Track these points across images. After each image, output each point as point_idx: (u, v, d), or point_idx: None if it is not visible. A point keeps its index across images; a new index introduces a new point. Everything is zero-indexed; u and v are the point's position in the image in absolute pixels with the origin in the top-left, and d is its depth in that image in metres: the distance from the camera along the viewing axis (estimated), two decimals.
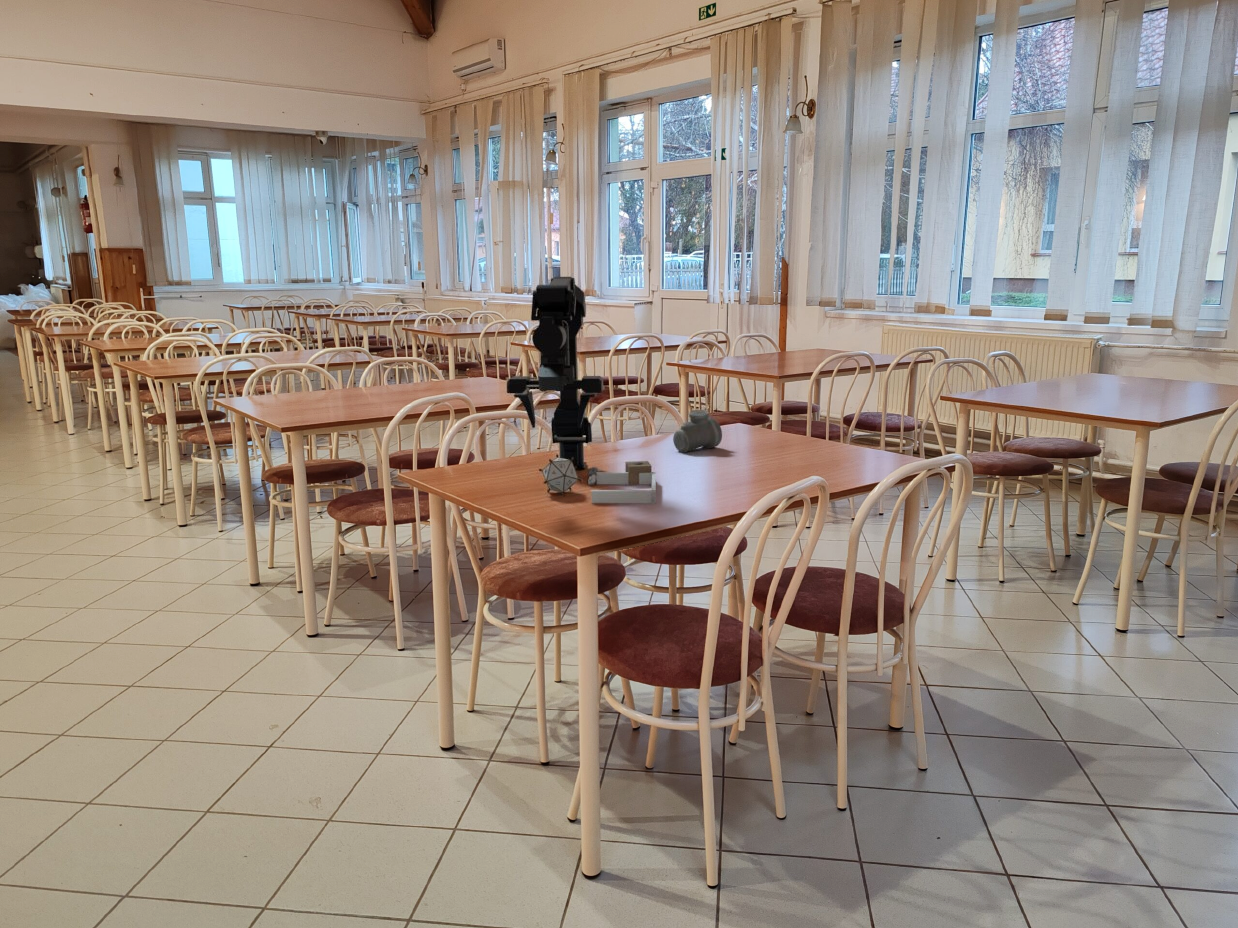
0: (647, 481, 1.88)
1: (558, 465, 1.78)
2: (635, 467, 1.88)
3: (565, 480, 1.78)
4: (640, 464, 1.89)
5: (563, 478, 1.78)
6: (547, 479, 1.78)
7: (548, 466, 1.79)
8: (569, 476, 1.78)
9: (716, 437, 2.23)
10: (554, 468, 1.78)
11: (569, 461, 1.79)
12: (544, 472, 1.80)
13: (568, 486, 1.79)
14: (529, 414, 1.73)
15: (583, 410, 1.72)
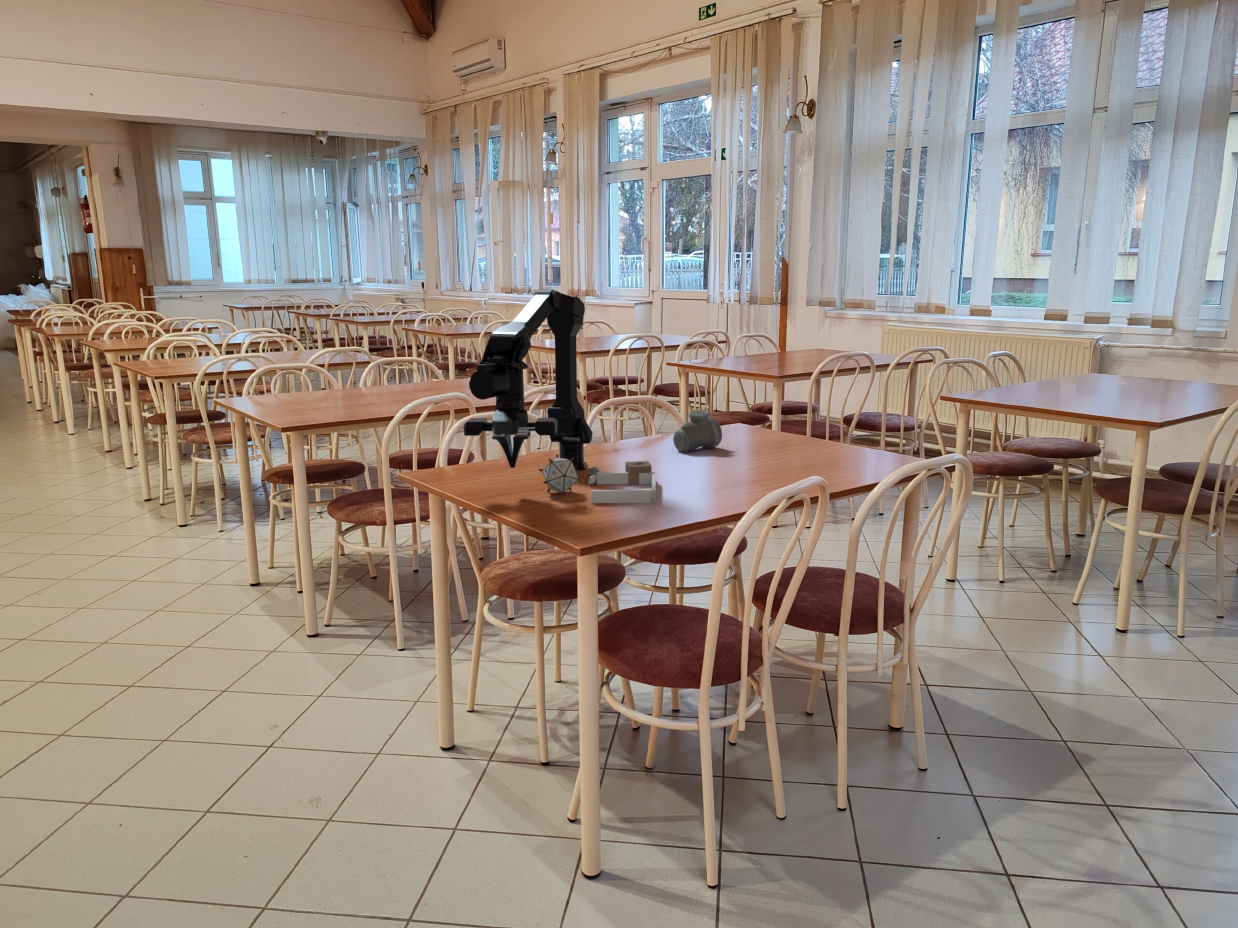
0: (647, 481, 1.88)
1: (558, 465, 1.78)
2: (635, 467, 1.88)
3: (565, 480, 1.78)
4: (640, 464, 1.89)
5: (563, 478, 1.78)
6: (547, 479, 1.78)
7: (548, 466, 1.79)
8: (569, 477, 1.78)
9: (716, 437, 2.23)
10: (554, 468, 1.78)
11: (569, 461, 1.79)
12: (544, 472, 1.80)
13: (568, 486, 1.79)
14: (507, 455, 1.80)
15: (516, 451, 1.79)
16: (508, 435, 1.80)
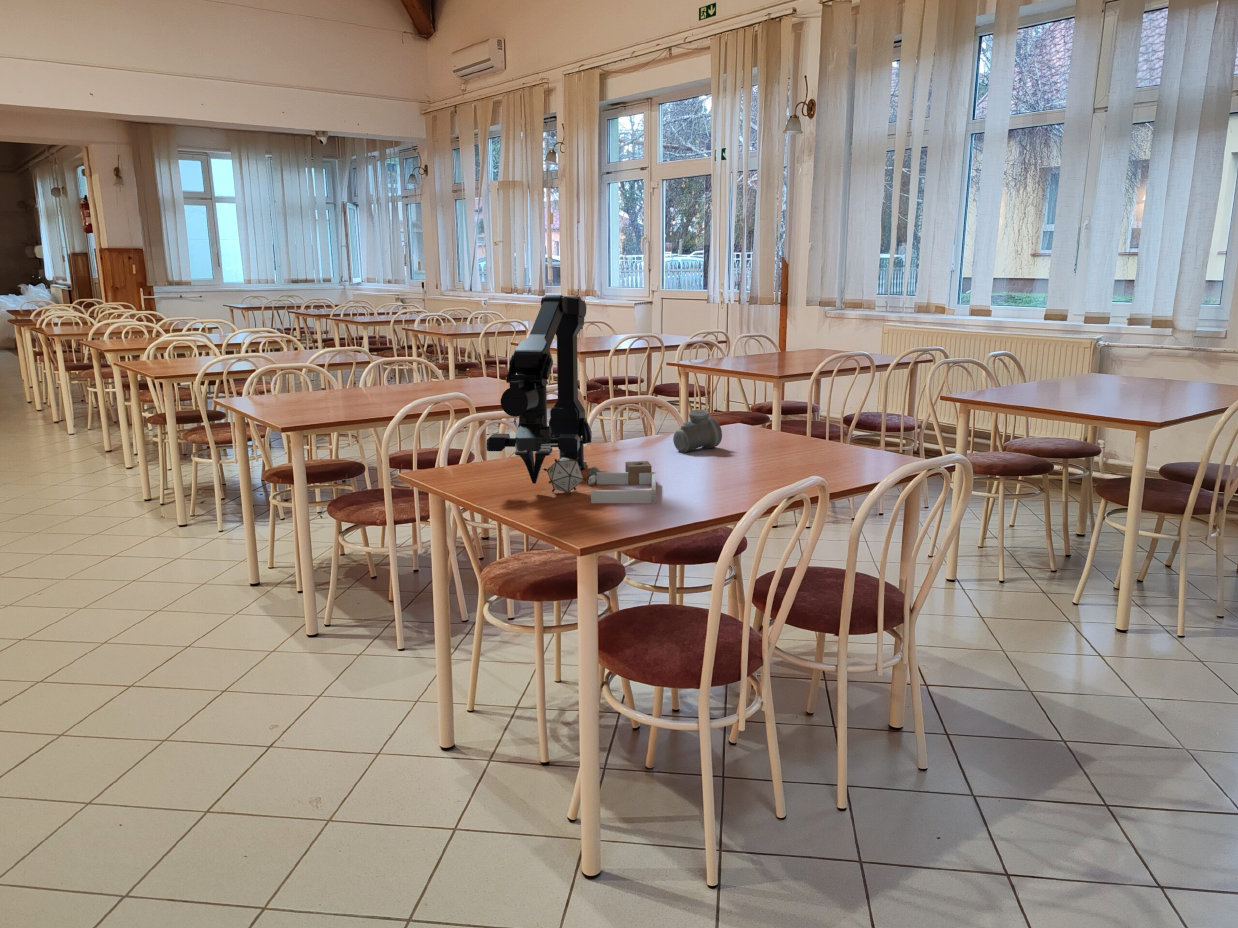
0: (647, 481, 1.88)
1: (563, 465, 1.78)
2: (635, 467, 1.88)
3: (571, 479, 1.78)
4: (640, 464, 1.89)
5: (568, 478, 1.77)
6: (552, 479, 1.78)
7: (553, 466, 1.79)
8: (575, 476, 1.78)
9: (716, 437, 2.23)
10: (559, 468, 1.78)
11: (574, 461, 1.79)
12: (549, 472, 1.80)
13: (573, 486, 1.79)
14: (529, 471, 1.80)
15: (538, 467, 1.80)
16: (531, 451, 1.81)
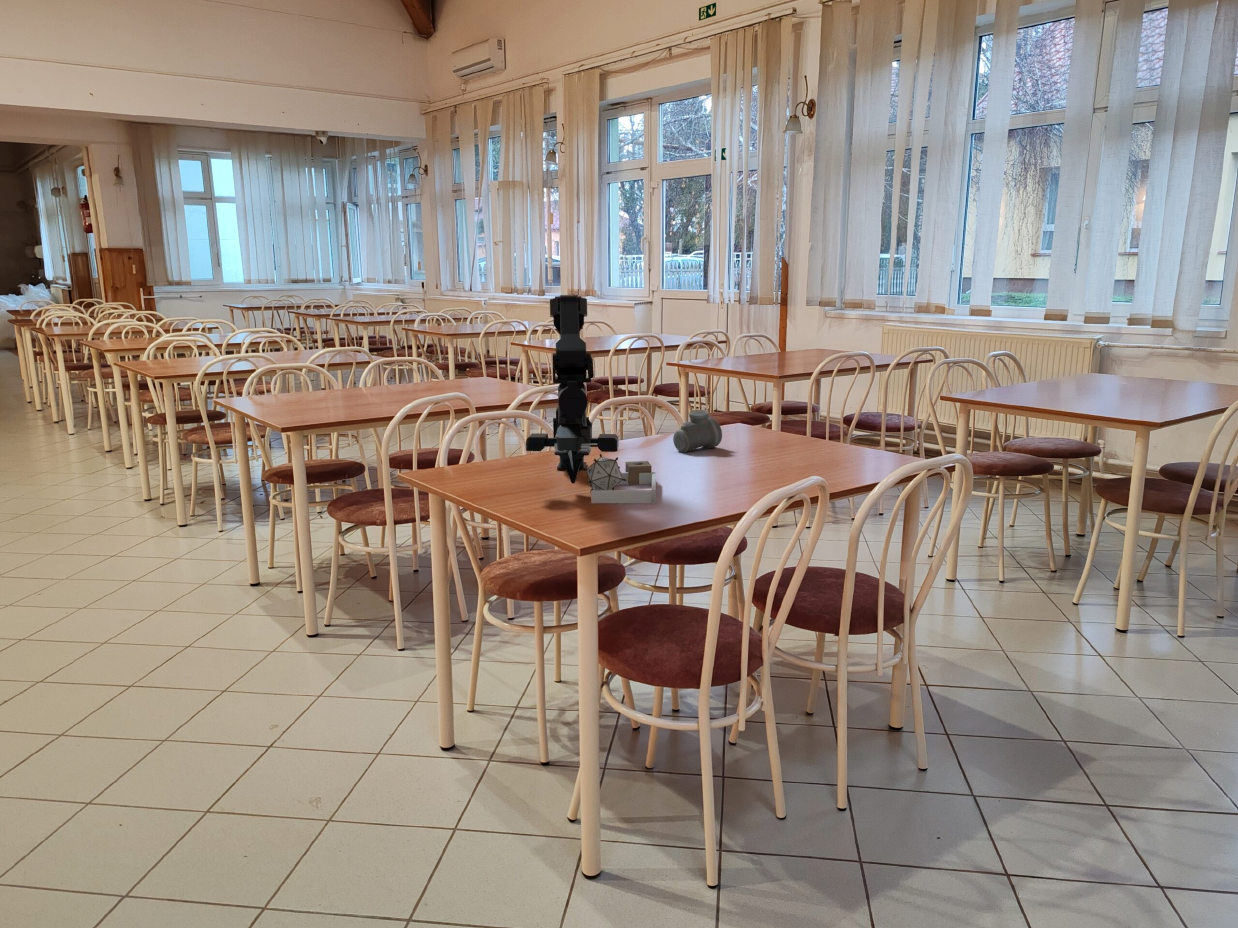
0: (647, 481, 1.88)
1: (603, 465, 1.78)
2: (635, 467, 1.88)
3: (610, 480, 1.77)
4: (640, 464, 1.89)
5: (608, 478, 1.77)
6: (592, 479, 1.78)
7: (592, 466, 1.79)
8: (614, 476, 1.78)
9: (716, 437, 2.23)
10: (598, 468, 1.78)
11: (613, 461, 1.79)
12: (588, 472, 1.80)
13: (612, 486, 1.79)
14: (568, 470, 1.80)
15: (577, 467, 1.79)
16: (569, 451, 1.80)
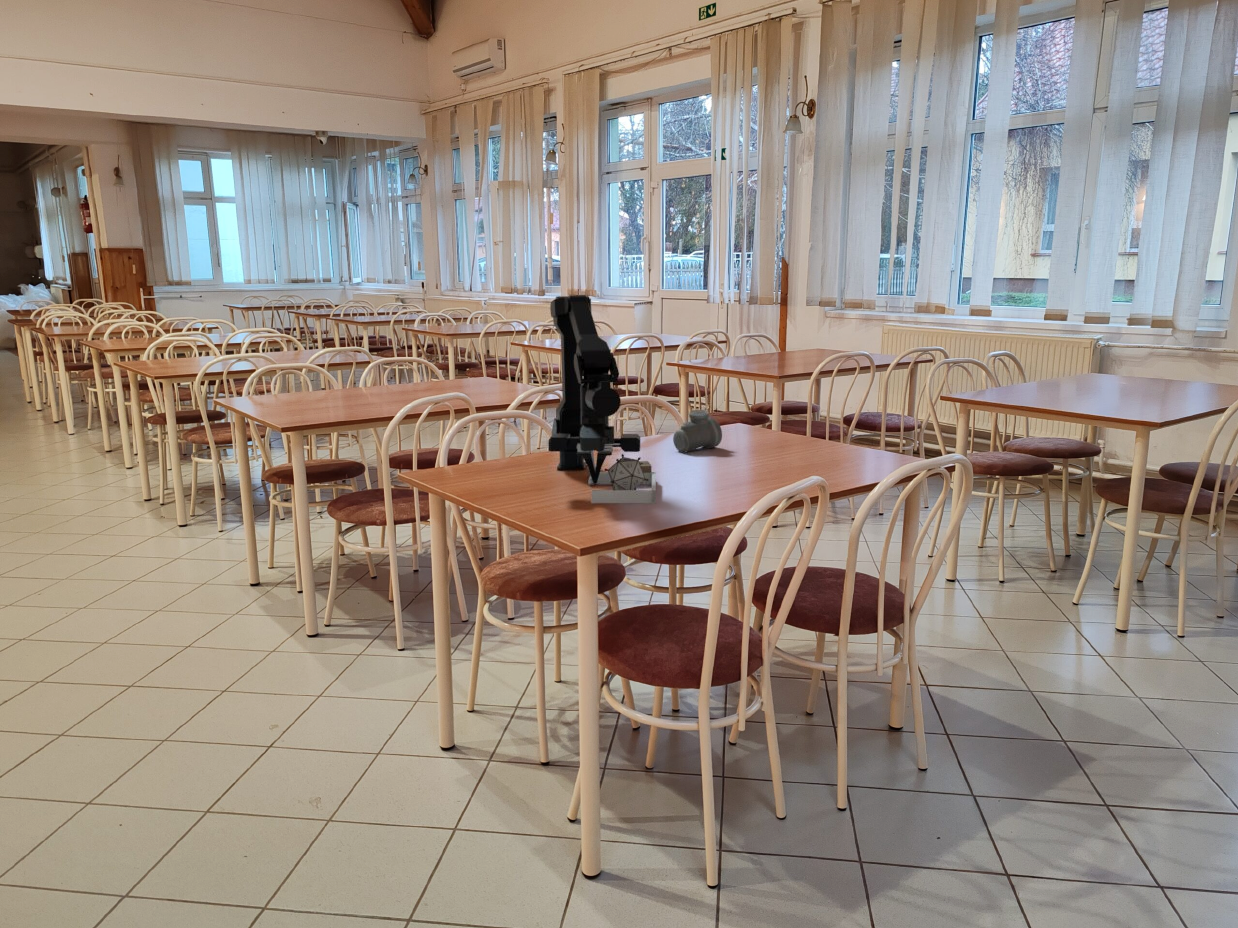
0: (647, 481, 1.88)
1: (625, 465, 1.78)
2: None
3: (633, 479, 1.77)
4: (640, 464, 1.89)
5: (631, 478, 1.77)
6: (614, 479, 1.78)
7: (615, 466, 1.79)
8: (637, 476, 1.78)
9: (716, 437, 2.23)
10: (621, 468, 1.77)
11: (636, 461, 1.79)
12: (610, 472, 1.80)
13: (635, 486, 1.79)
14: (591, 471, 1.80)
15: (600, 467, 1.79)
16: (592, 451, 1.80)
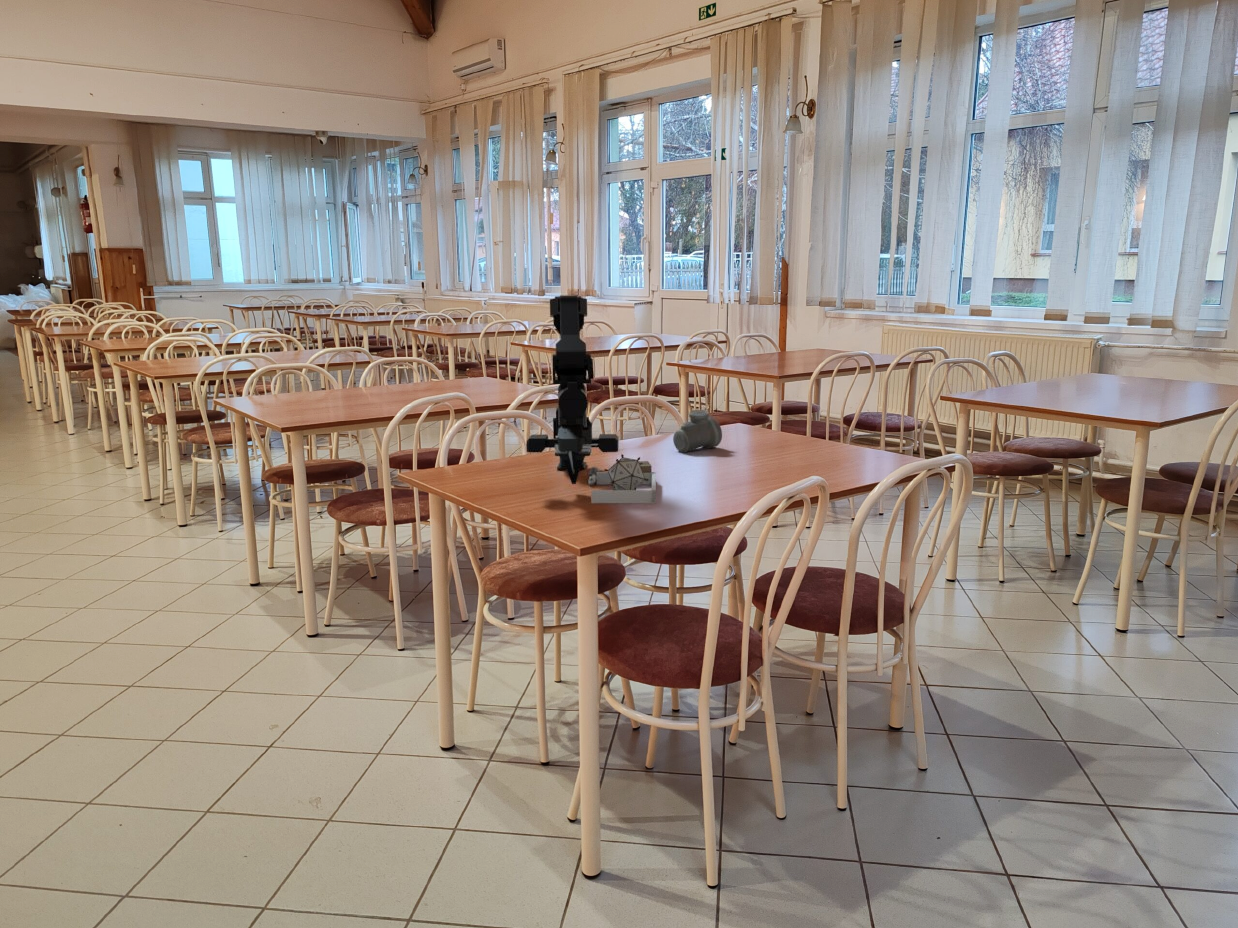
0: (647, 481, 1.88)
1: (625, 465, 1.78)
2: None
3: (633, 480, 1.77)
4: (640, 464, 1.89)
5: (630, 478, 1.77)
6: (614, 479, 1.78)
7: (615, 466, 1.79)
8: (636, 476, 1.78)
9: (716, 437, 2.23)
10: (621, 468, 1.78)
11: (636, 461, 1.79)
12: (610, 472, 1.80)
13: (635, 486, 1.79)
14: (569, 471, 1.80)
15: (578, 468, 1.79)
16: (569, 451, 1.81)
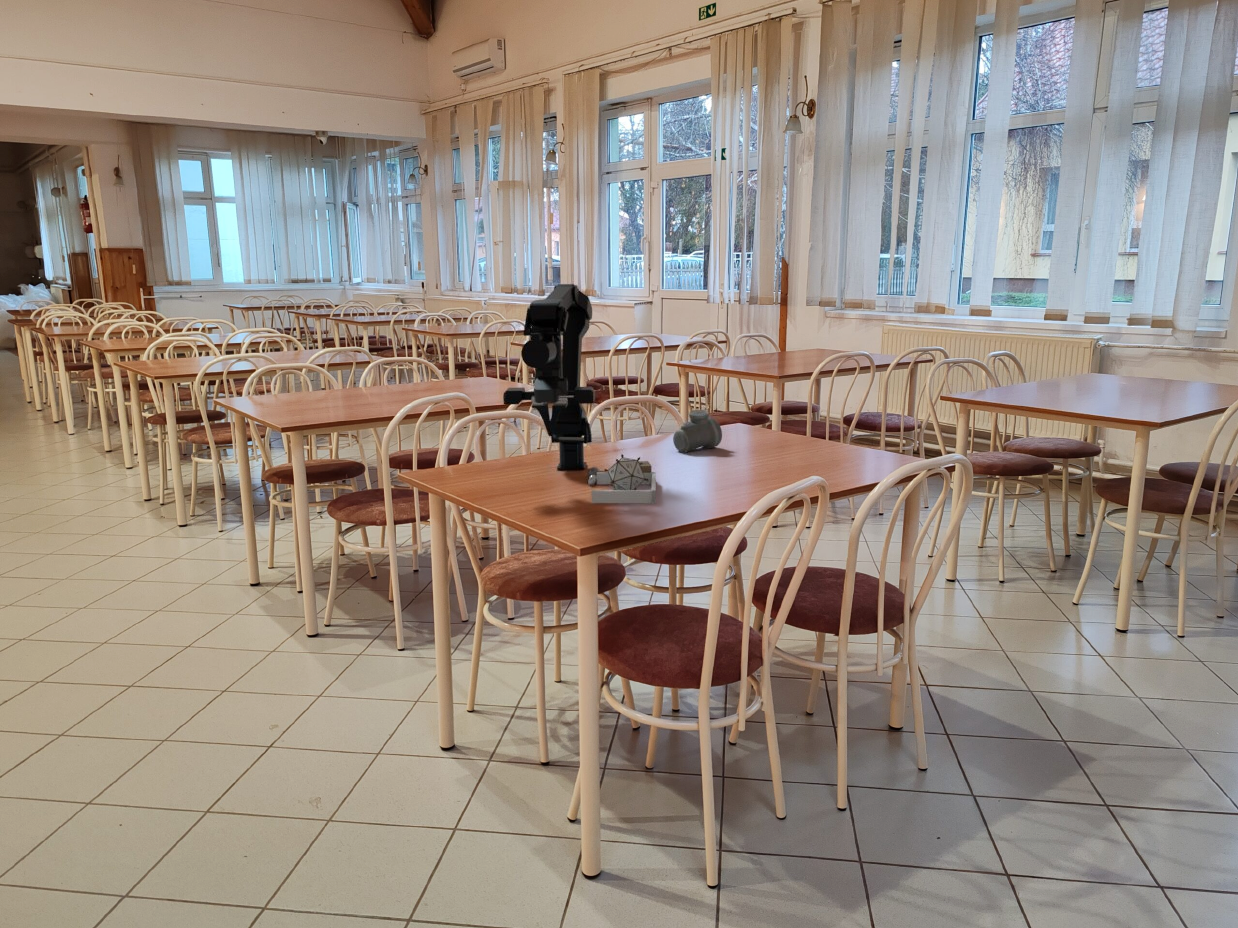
0: (647, 481, 1.88)
1: (625, 465, 1.78)
2: None
3: (633, 480, 1.77)
4: (640, 464, 1.89)
5: (630, 478, 1.77)
6: (614, 479, 1.78)
7: (615, 466, 1.79)
8: (636, 476, 1.78)
9: (716, 437, 2.23)
10: (621, 468, 1.78)
11: (635, 461, 1.79)
12: (610, 472, 1.80)
13: (635, 486, 1.79)
14: (546, 423, 1.83)
15: (555, 420, 1.82)
16: (546, 404, 1.83)
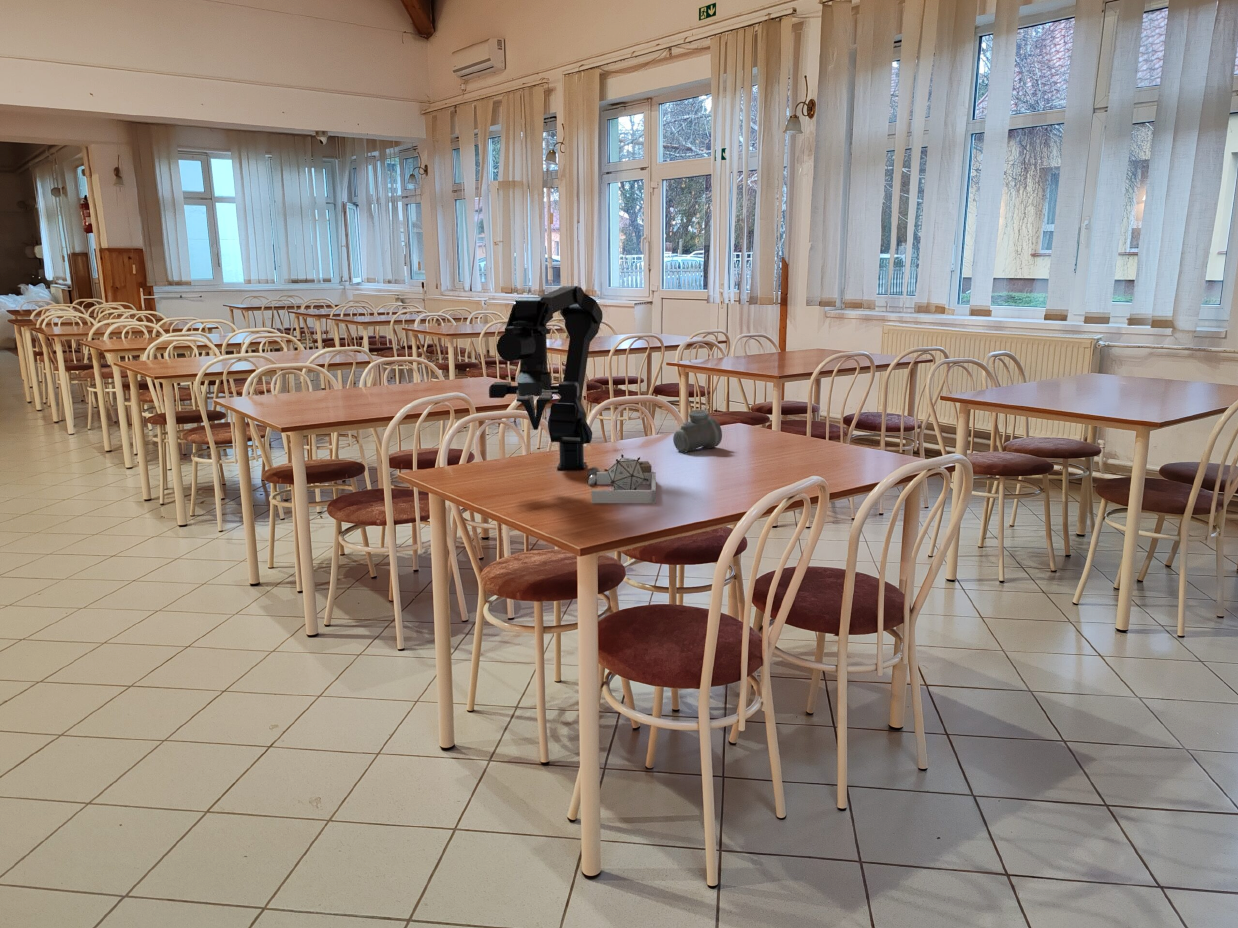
0: (647, 481, 1.88)
1: (625, 465, 1.78)
2: None
3: (633, 480, 1.77)
4: (640, 464, 1.89)
5: (630, 478, 1.77)
6: (614, 479, 1.78)
7: (615, 466, 1.79)
8: (636, 477, 1.78)
9: (716, 437, 2.23)
10: (621, 468, 1.78)
11: (636, 461, 1.79)
12: (610, 472, 1.80)
13: (635, 486, 1.79)
14: (530, 417, 1.86)
15: (540, 413, 1.85)
16: (531, 398, 1.86)
